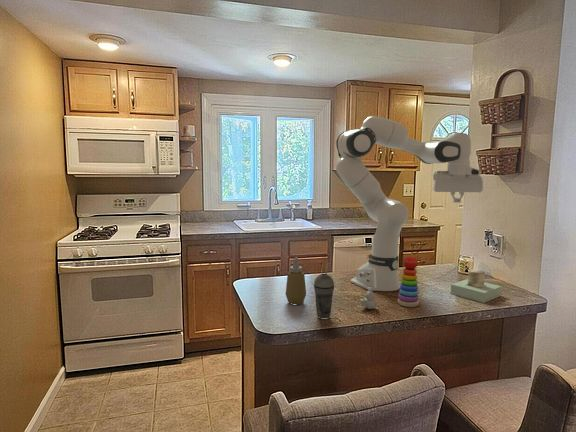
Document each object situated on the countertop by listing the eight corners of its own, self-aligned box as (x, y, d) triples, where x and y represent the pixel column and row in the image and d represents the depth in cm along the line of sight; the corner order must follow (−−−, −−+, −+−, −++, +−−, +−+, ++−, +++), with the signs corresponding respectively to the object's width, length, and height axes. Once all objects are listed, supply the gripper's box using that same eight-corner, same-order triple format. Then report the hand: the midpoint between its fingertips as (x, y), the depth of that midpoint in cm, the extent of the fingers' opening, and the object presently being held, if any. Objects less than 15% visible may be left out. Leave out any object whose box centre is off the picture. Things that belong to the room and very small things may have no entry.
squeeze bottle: (291, 308, 147) (291, 261, 145) (281, 301, 154) (282, 256, 152) (310, 304, 151) (310, 258, 148) (299, 298, 158) (300, 254, 156)
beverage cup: (314, 312, 143) (314, 258, 140) (334, 313, 142) (335, 259, 139) (312, 320, 135) (313, 264, 133) (333, 321, 134) (334, 264, 132)
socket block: (450, 293, 164) (451, 284, 164) (467, 287, 173) (468, 278, 172) (483, 302, 153) (484, 293, 153) (500, 295, 162) (501, 286, 161)
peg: (467, 294, 164) (468, 271, 162) (472, 292, 166) (474, 269, 165) (477, 297, 160) (479, 273, 159) (483, 295, 163) (484, 271, 161)
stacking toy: (420, 308, 147) (422, 259, 145) (398, 306, 149) (400, 258, 146) (417, 301, 155) (419, 255, 152) (396, 300, 156) (398, 254, 154)
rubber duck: (379, 310, 145) (380, 289, 144) (363, 312, 143) (363, 290, 142) (373, 305, 150) (374, 285, 149) (357, 306, 149) (357, 286, 148)
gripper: (435, 170, 169) (433, 202, 171) (485, 171, 167) (483, 203, 169) (432, 170, 176) (430, 201, 177) (480, 170, 173) (478, 202, 175)
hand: (456, 202), depth 173 cm, fingers closed
